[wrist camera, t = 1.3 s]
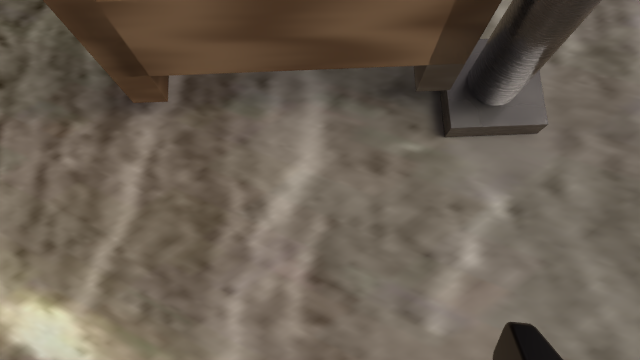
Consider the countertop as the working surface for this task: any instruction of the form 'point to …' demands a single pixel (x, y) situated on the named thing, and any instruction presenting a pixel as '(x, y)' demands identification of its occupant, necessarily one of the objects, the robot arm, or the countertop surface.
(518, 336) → the robot arm
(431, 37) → the gate
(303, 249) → the countertop surface
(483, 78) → the gate post
